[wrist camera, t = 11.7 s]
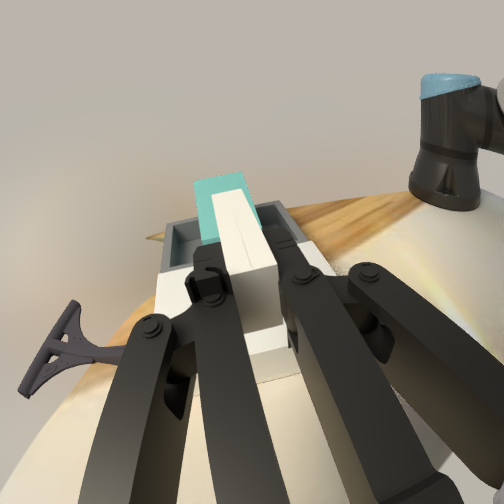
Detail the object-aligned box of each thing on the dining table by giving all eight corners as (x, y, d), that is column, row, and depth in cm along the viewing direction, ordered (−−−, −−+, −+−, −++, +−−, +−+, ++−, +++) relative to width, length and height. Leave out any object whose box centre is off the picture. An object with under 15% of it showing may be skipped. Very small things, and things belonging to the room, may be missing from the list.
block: (263, 264, 33) (245, 207, 39) (262, 227, 28) (241, 171, 35) (211, 275, 32) (202, 216, 39) (201, 240, 28) (193, 181, 34)
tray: (281, 222, 42) (279, 200, 40) (310, 268, 32) (310, 242, 30) (172, 245, 41) (166, 223, 39) (169, 300, 31) (160, 274, 29)
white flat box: (312, 271, 32) (311, 240, 30) (360, 353, 22) (368, 321, 20) (169, 303, 30) (158, 273, 28) (169, 399, 20) (150, 372, 18)
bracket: (131, 436, 18) (114, 422, 16) (23, 397, 20) (8, 381, 18) (174, 314, 30) (166, 295, 28) (75, 309, 32) (65, 293, 30)
